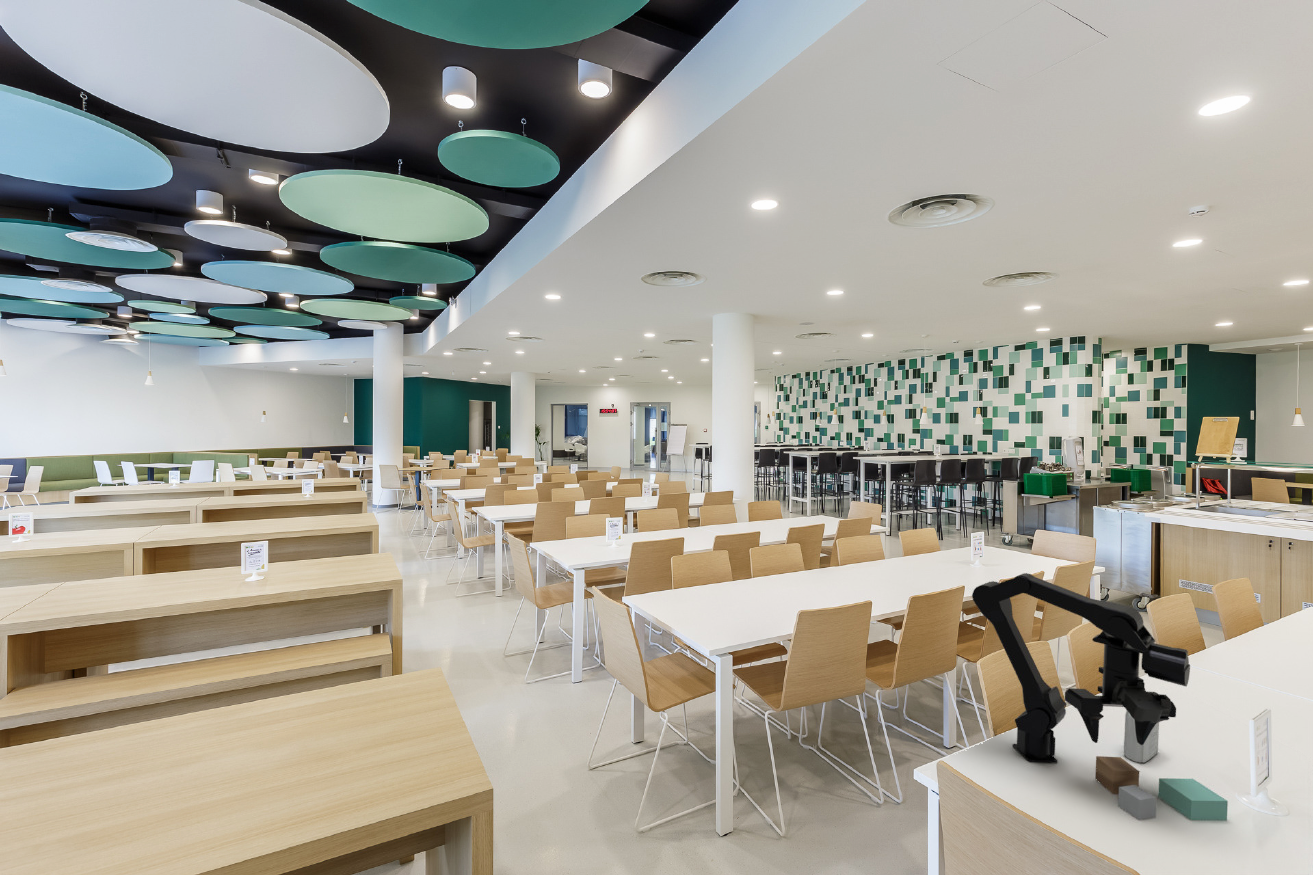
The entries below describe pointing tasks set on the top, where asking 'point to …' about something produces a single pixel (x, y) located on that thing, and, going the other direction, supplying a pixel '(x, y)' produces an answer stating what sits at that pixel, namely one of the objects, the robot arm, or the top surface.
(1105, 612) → the robot arm
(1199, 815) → the teal base block
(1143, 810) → the slate block
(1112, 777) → the walnut cube
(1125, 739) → the photo printer
